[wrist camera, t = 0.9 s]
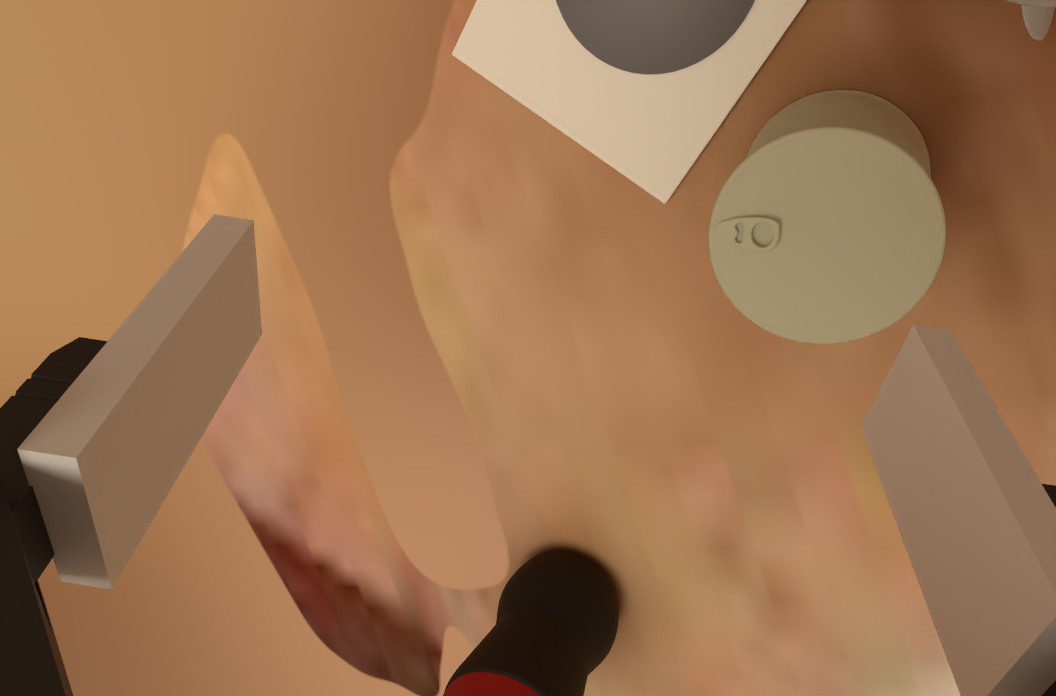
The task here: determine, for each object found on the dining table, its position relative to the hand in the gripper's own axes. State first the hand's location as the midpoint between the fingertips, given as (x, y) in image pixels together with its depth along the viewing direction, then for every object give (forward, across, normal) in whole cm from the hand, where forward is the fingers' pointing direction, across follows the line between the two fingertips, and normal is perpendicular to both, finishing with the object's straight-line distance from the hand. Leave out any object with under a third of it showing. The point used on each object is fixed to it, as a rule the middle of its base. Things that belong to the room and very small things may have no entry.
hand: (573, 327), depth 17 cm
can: (+28, +14, -7) cm, 32 cm away
